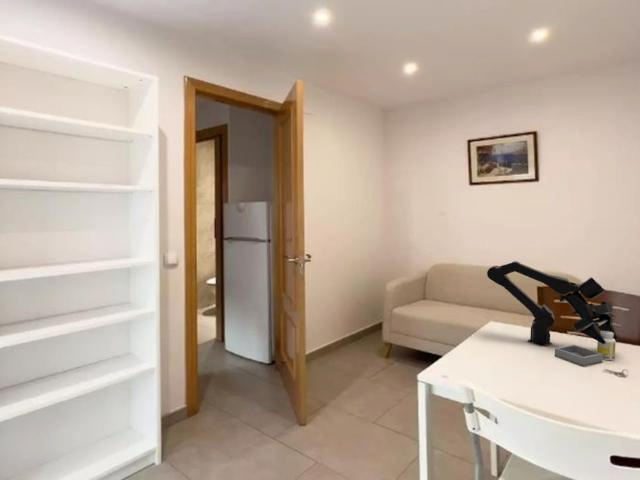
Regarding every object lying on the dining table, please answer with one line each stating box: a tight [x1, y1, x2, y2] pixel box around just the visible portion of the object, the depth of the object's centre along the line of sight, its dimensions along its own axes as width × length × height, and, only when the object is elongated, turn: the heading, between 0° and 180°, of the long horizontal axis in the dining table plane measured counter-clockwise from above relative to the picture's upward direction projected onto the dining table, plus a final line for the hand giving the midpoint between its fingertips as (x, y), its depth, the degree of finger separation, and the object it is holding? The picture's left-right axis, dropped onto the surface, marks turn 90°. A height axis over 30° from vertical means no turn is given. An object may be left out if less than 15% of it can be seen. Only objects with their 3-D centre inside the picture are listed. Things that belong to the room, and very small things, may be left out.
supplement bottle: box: [596, 330, 617, 361], centre depth 143 cm, size 5×5×10 cm
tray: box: [554, 344, 604, 367], centre depth 142 cm, size 11×11×3 cm
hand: (610, 341), depth 142 cm, fingers open, 8 cm apart
